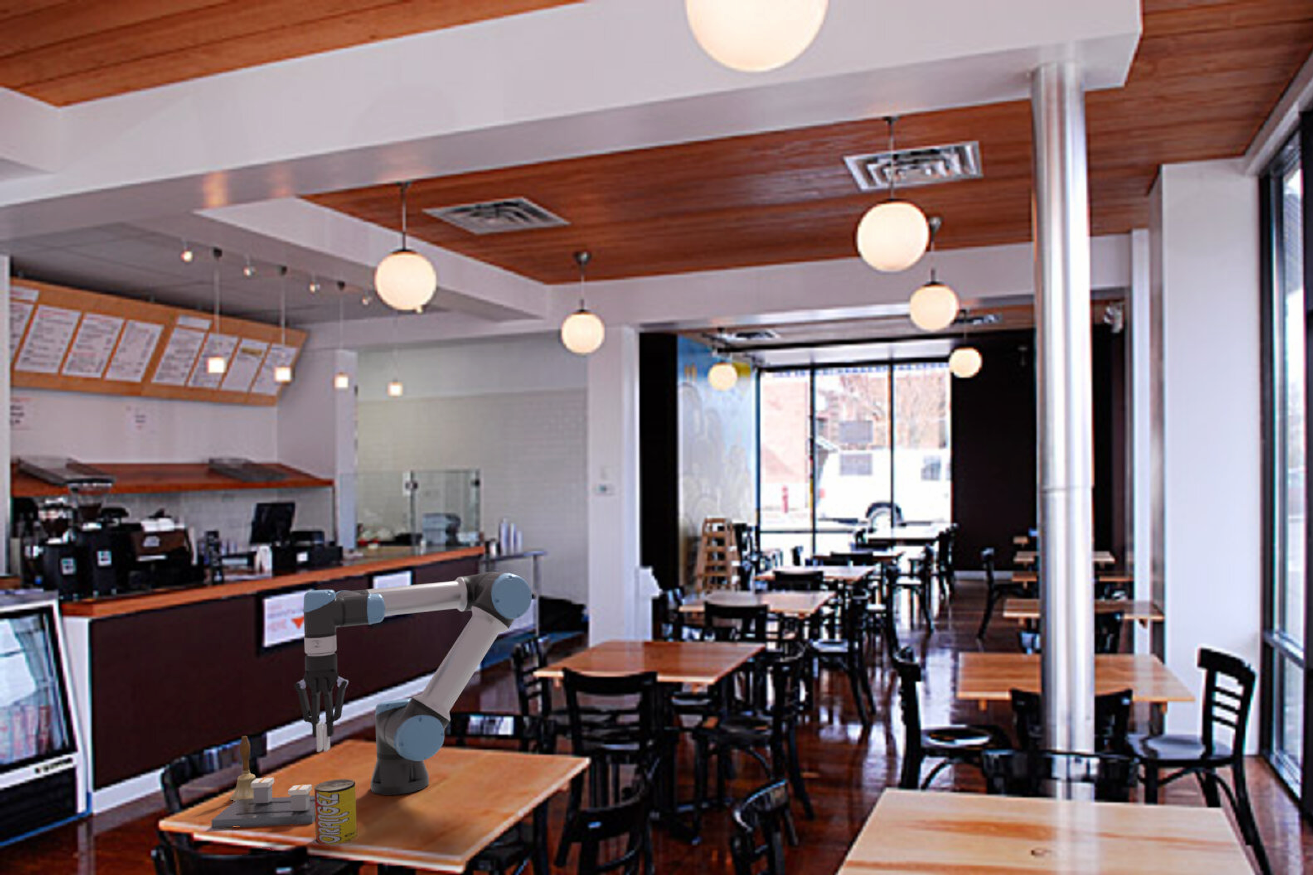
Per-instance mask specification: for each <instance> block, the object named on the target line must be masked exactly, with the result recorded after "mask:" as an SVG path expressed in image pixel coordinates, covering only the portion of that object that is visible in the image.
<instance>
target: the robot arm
mask: <svg viewBox="0 0 1313 875" xmlns="http://www.w3.org/2000/svg"><path fill="white" fill-rule="evenodd" d="M532 596H533V595H532V590H531V587H530V585H529V583H528V582H527V581H526V580H525V579H524V578H523V577H521V576H519V575H517V574H515V573H512V572H511V573H510V572H505V573H504V572H500V571H499V572H498V571H487V572H483V573H478V574H471V575H467V576H466V575H465V576H458V577H457V578H456V579H455V580H451V581H442V582H441V581H440V582H431V583H421V584H420V583H419V584H411V585H401V586H400V585H399V586H398V585H397V586H390V587H378V588H369V589H366V588H365V589H359V590H348V589H347V590H346V589H345V590H339V591H337V592H336V591H335V590H334V589H317V590H316V589H315V590H309V591H306V592H305V594H304V596H303V609H302V612H303V631H304V637H303V639H304V653H305V654H306V655H305V656H304V671H305V672H304V675H303V677H302V678H303V679H301V680H299V681H297V682H295V683H294V685H293V687H294V689H295V690H296V692H297V694H298V697H299V698H298V700H299V704H300V707H301V713H302V718H303V721H304V722H305V723H310V724H311V725H312V726H311V728H312V730H311V732H312V738H316V752H318V753H320V752H322V751H323V752H328V751H329V750H330V749H331V737H332V736H334V731H335V730H334V728H335V727H334V723H335V722H337V721H338V720H339V719H341V717H342V713H343V705H344V702H345V701H344V700H345V694H346V689H347V687H348V685H349V682H350V681H349V679H348V678H346V679H345V678H343V677H341V676H340V674H339V671H338V654H337V653H336V651H337V650H338V649H337V648H338V646H337V645H338V644H337V628H342V627H343V628H344V627H353V626H362V625H363V626H364V625H373V624H378V623H381V622H383V620H384V619H385V617H387V616H388V617H389V616H396V615H405V614H406V615H407V614H415V613H424V612H435V611H443V610H445V611H446V610H453V609H457V610H458V611H459V612H468V611H471V612H472V613H471V614H472V616H471V617H470V619H469V621H468V622H467V624H466V625H465V626H464V628H463V630H462V632H461V633H460V635H458V637H457V639H456V641H455V642H454V644H453V645H452V647H451V648H450V650H449V651H448V653H447V654H446V656H445V657H444V658H443V660H442V662H441V663H440V665H439V666H438V668H437V669H436V671H435V673H434V674H433V676H432V677H431V679H430V680H429V682H428V683H427V685H426V686H425V688H424V689H423V691H422V693H420V694H417V695H414V696H412V697H411V698H410V697H409V698H399V699H392V700H386V701H382V702H379V703H377V704H376V706H375V714H374V718H375V738H376V739H375V740H376V741H375V742H376V744H375V745H376V762H375V766H374V769H373V771H372V775H371V776H372V777H371V780H370V791H371V792H372V793H373V794H377V795H384V796H385V795H386V796H392V795H393V796H396V795H405V794H410V793H414V792H418V791H420V790H424V789H425V788H427V787H428V786H429V783H430V776H429V772H428V768H427V767H426V764H425V761H426V760H428V759H430V758H432V757H433V756H435V755H436V754H437V753H438V752H439V751H440V750H441V749H442V746H443V744H444V741H445V730H446V728H447V727H448V725H449V723H450V722H451V715H450V711H451V709H452V708H453V707H454V705H455V702H456V701H458V698H459V697H460V695H461V694H462V692H463V690H464V689H465V687H466V686H467V684H468V683H469V681H470V679H471V678H472V676H474V673H475V672H476V670H477V669H478V667H479V665H480V664H481V662H482V661H483V659H484V657H485V656H486V654H488V652H489V650H490V648H491V646H492V645H493V643H494V642H495V640H496V639H497V637H498V635H499V634H500V633H504V632H507V631H509V629H510V627H511V626H512V625H513V622H514V621H515V620H517V619H519V618H521V617H523V616H524V615H525V614H526V613H527V612H528V611H529V609H530V607H531V604H532V598H533V597H532ZM336 683H337V687H338V689H337V693H336V700H335V706H334V703H333V688H334V686H335V685H336ZM307 687H308V688H309V689H310V690H311V705H310V701H309V698H308V693H307V692H308V691H307V689H306V688H307ZM321 693H322V694H323V700H324V714H325V722H324V723H323V722H322V721H321V718H320V717H321V716H320V715H321V714H320V712H321V711H320V709H321V708H320V706H321ZM426 786H427V787H426ZM417 790H418V791H417Z"/></svg>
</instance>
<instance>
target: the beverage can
mask: <svg viewBox="0 0 1313 875" xmlns="http://www.w3.org/2000/svg"><path fill="white" fill-rule="evenodd" d="M314 796H315V821H314V822H315V824H314V825H315V828H314V829H315V842H316V843H318V844H319V845H324V846H325V845H328V846H329V845H338V844H344V843H347V842H349V840H350V841H353V840H354V839H355V838H356V837H357V836H358V834H357V833H358V832H357V829H358V828H357V803H356V802H357V801H356V797H357V796H356V781H355V780H353V779H349V778H348V779H347V778H343V779H340V778H339V779H332V780H327V781H323V782H319V783H318V784H316V785H314ZM356 835H357V836H356Z"/></svg>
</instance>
